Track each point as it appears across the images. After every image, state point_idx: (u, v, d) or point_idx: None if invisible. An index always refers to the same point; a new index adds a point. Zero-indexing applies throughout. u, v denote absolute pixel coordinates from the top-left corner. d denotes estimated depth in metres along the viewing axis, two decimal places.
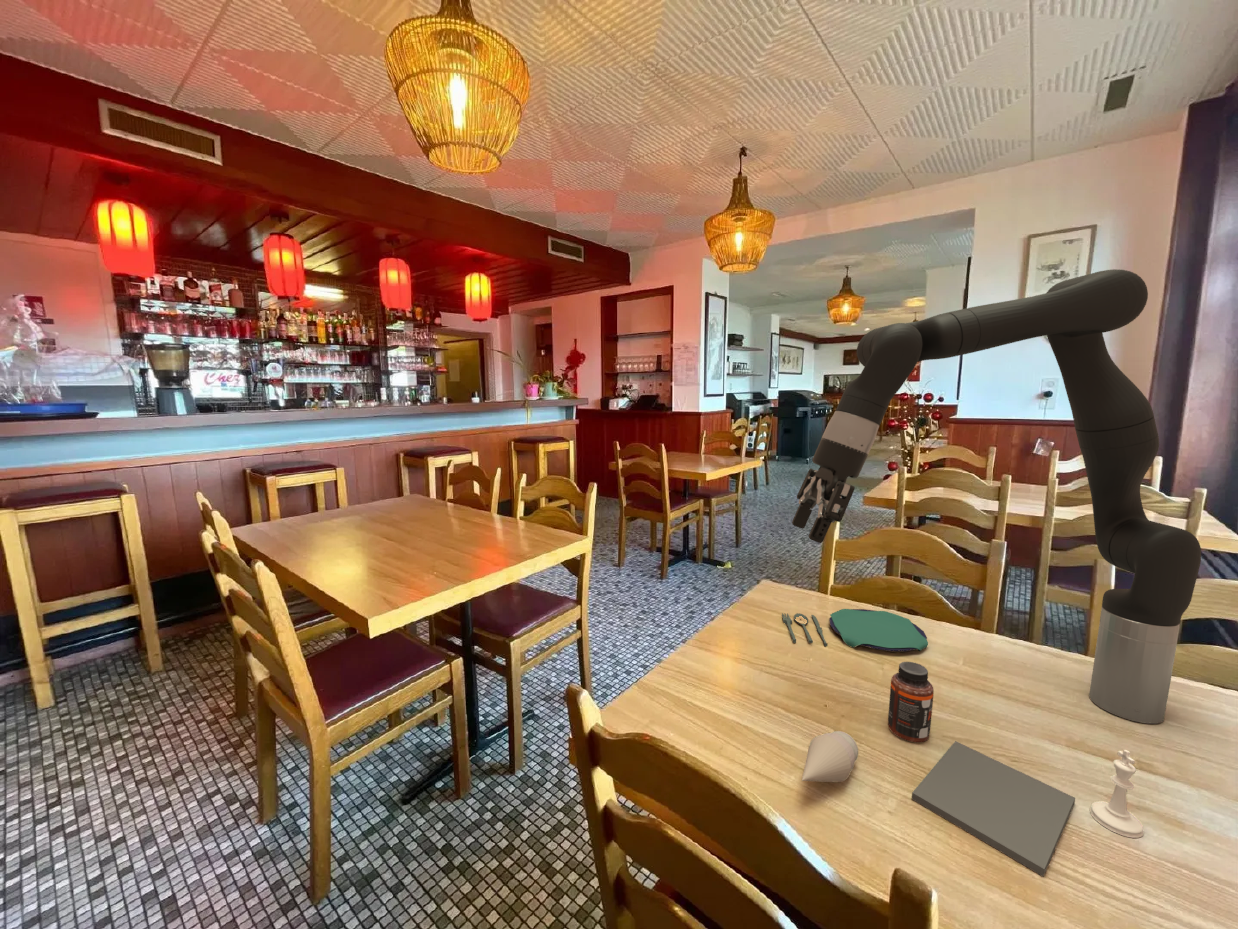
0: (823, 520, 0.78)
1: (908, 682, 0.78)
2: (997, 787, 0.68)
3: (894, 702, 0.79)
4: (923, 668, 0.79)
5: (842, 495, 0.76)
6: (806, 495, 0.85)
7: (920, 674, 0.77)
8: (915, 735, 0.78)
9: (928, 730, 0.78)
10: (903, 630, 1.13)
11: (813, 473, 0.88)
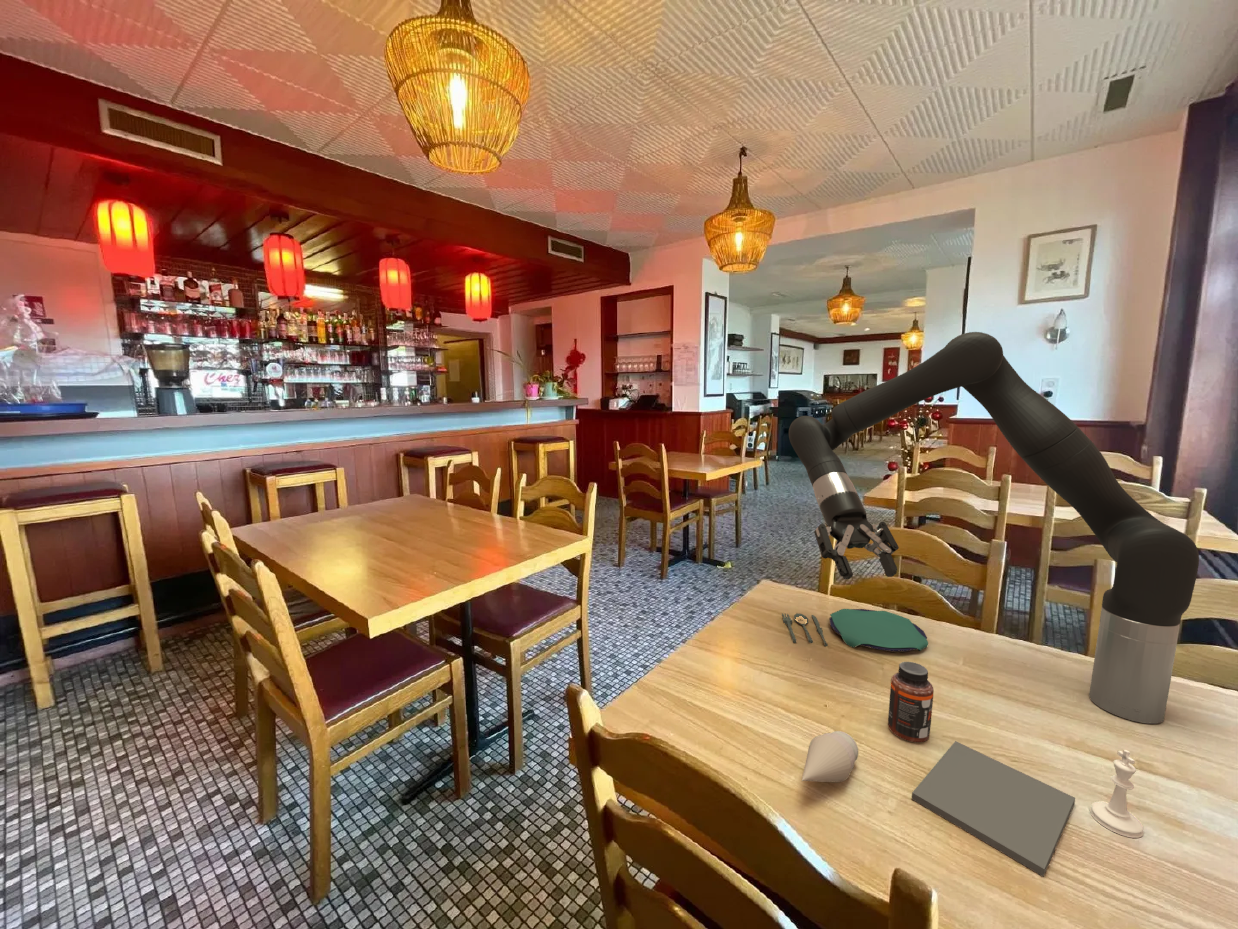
0: (834, 560, 0.91)
1: (908, 682, 0.78)
2: (997, 787, 0.68)
3: (894, 702, 0.79)
4: (923, 668, 0.79)
5: (819, 536, 0.93)
6: (868, 549, 0.94)
7: (920, 674, 0.77)
8: (915, 735, 0.78)
9: (928, 730, 0.78)
10: (903, 630, 1.13)
11: None
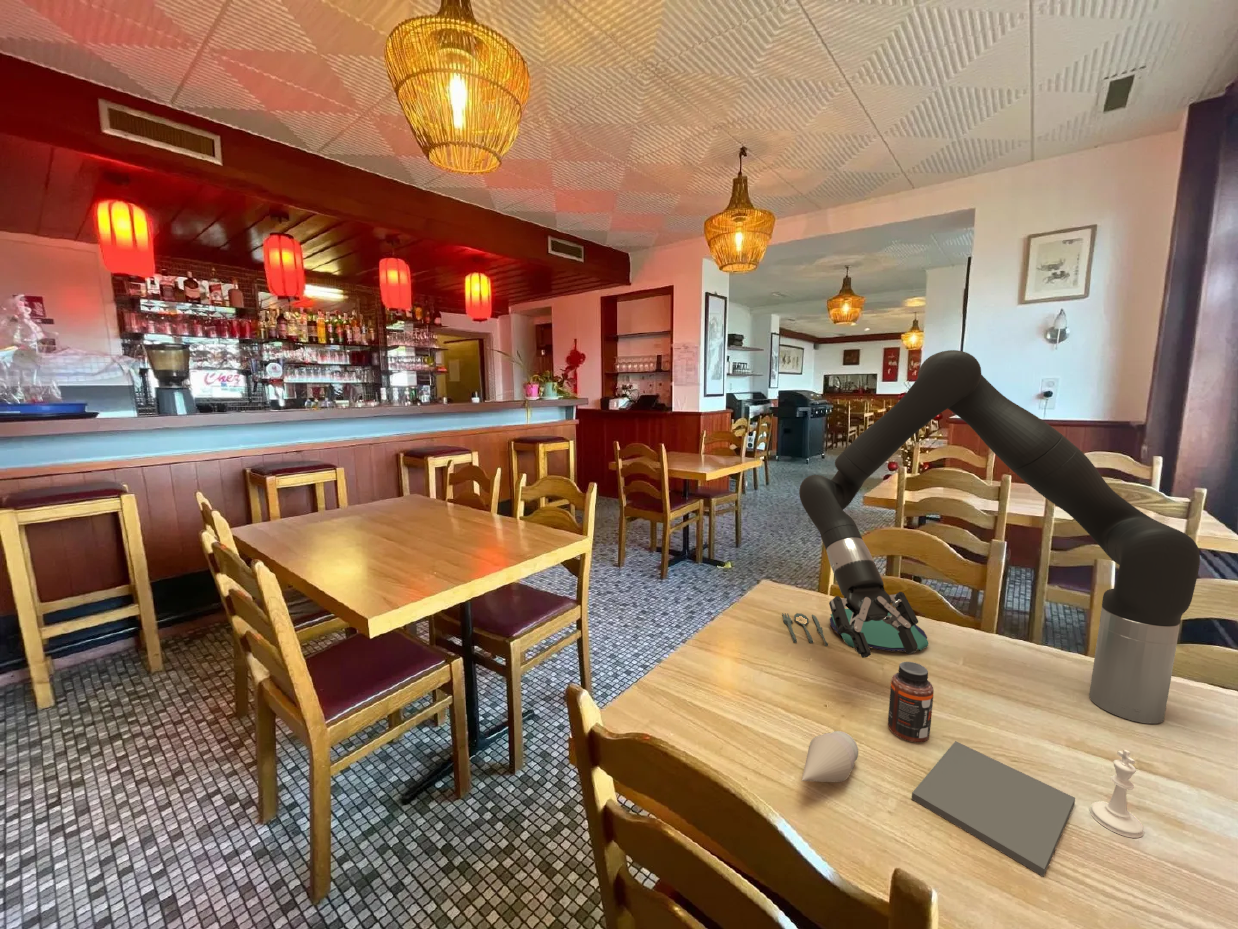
0: (851, 636, 0.86)
1: (908, 682, 0.78)
2: (997, 787, 0.68)
3: (894, 702, 0.79)
4: (923, 668, 0.79)
5: (834, 609, 0.89)
6: (886, 622, 0.90)
7: (920, 674, 0.77)
8: (915, 735, 0.78)
9: (928, 730, 0.78)
10: None
11: None
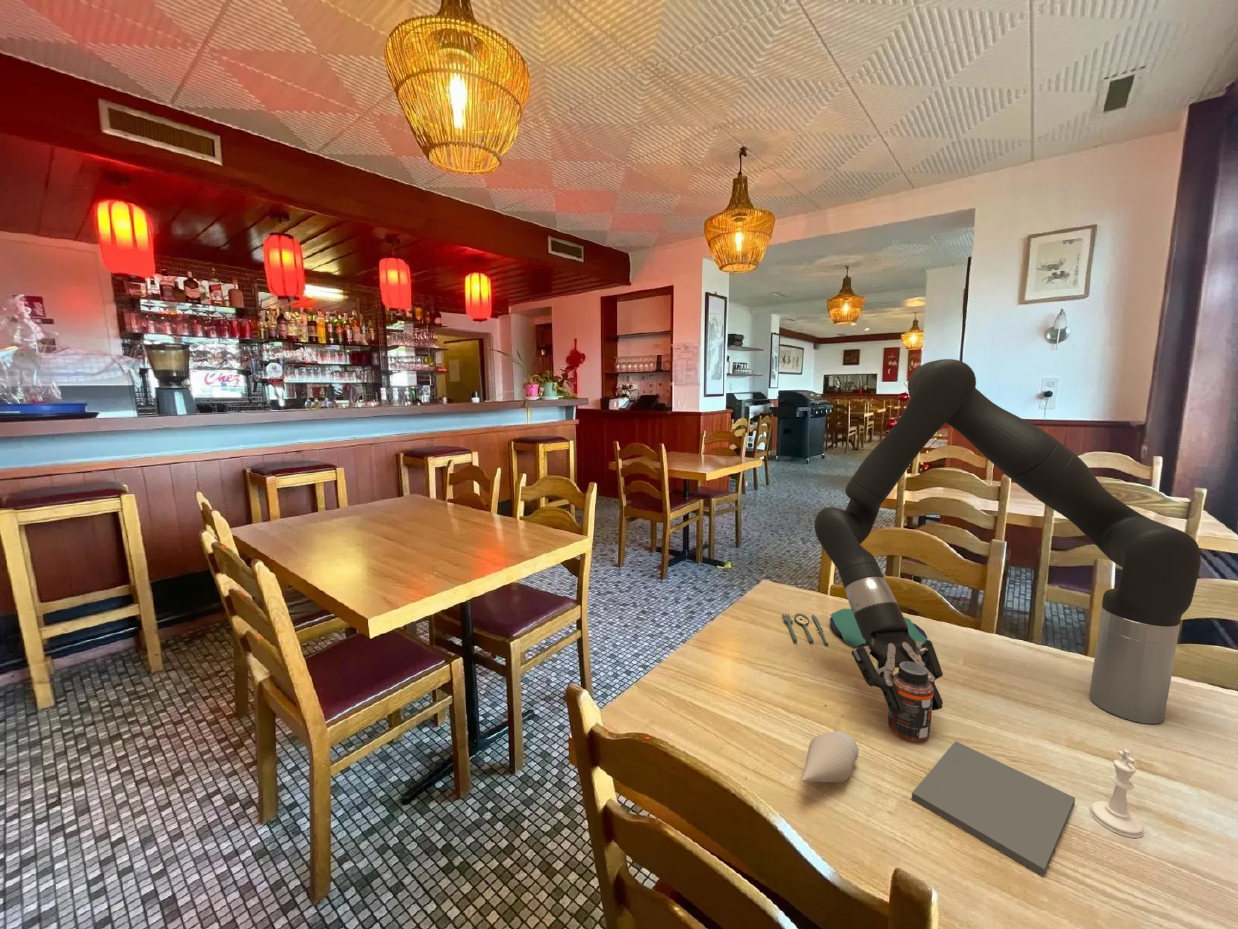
0: (881, 689, 0.80)
1: (907, 682, 0.78)
2: (997, 787, 0.68)
3: None
4: (923, 668, 0.79)
5: (859, 660, 0.82)
6: None
7: (920, 674, 0.77)
8: (915, 735, 0.78)
9: (928, 730, 0.78)
10: None
11: None
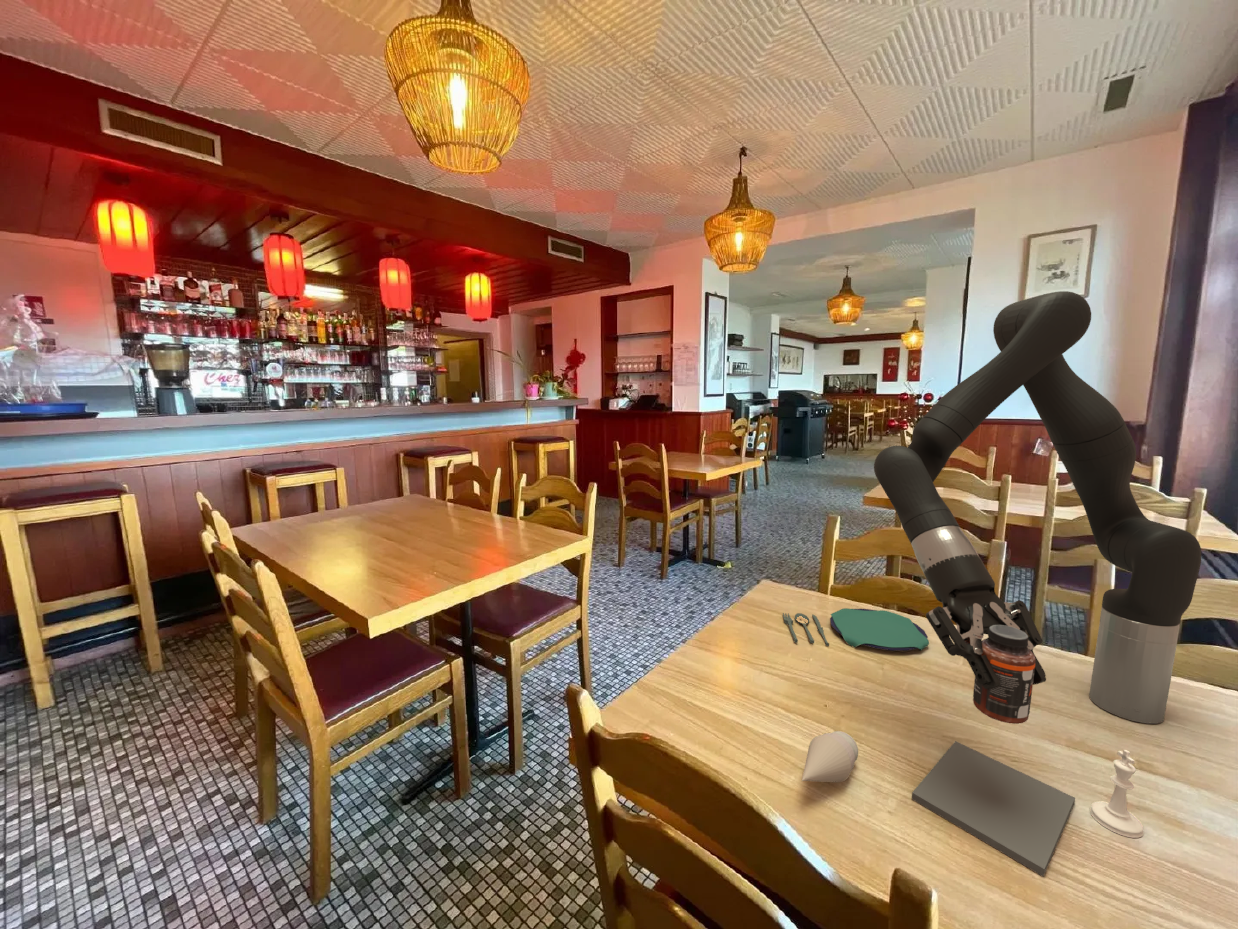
0: (967, 659, 0.65)
1: (1003, 649, 0.63)
2: (997, 787, 0.68)
3: None
4: (1021, 632, 0.63)
5: (937, 624, 0.67)
6: None
7: (1019, 639, 0.62)
8: (1013, 714, 0.62)
9: (1028, 708, 0.63)
10: (904, 629, 1.13)
11: None
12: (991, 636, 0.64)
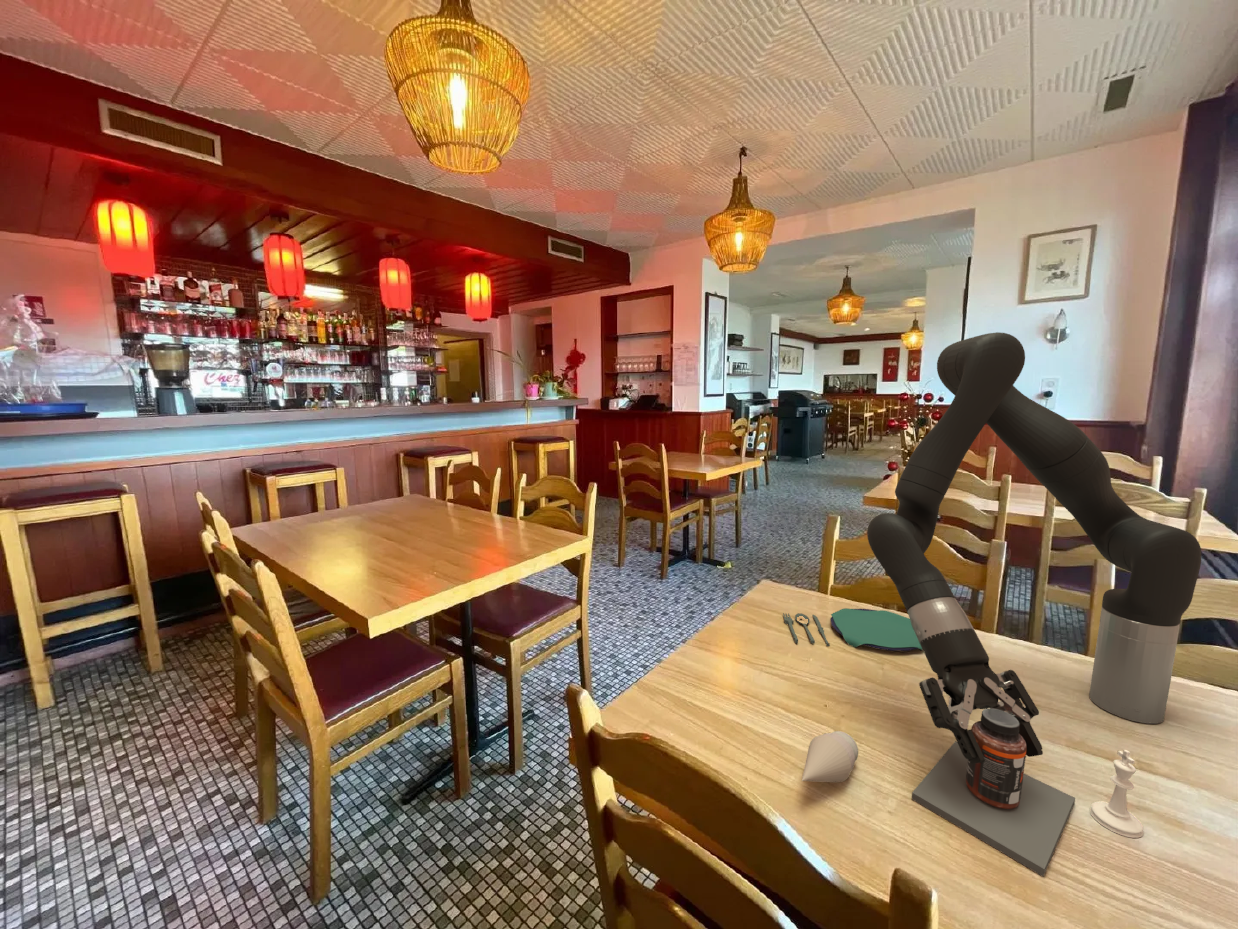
0: (953, 732, 0.66)
1: (995, 735, 0.64)
2: None
3: None
4: (1013, 718, 0.65)
5: (928, 694, 0.69)
6: None
7: (1011, 727, 0.64)
8: (1004, 800, 0.64)
9: (1019, 794, 0.64)
10: (904, 629, 1.13)
11: None
12: (983, 721, 0.66)
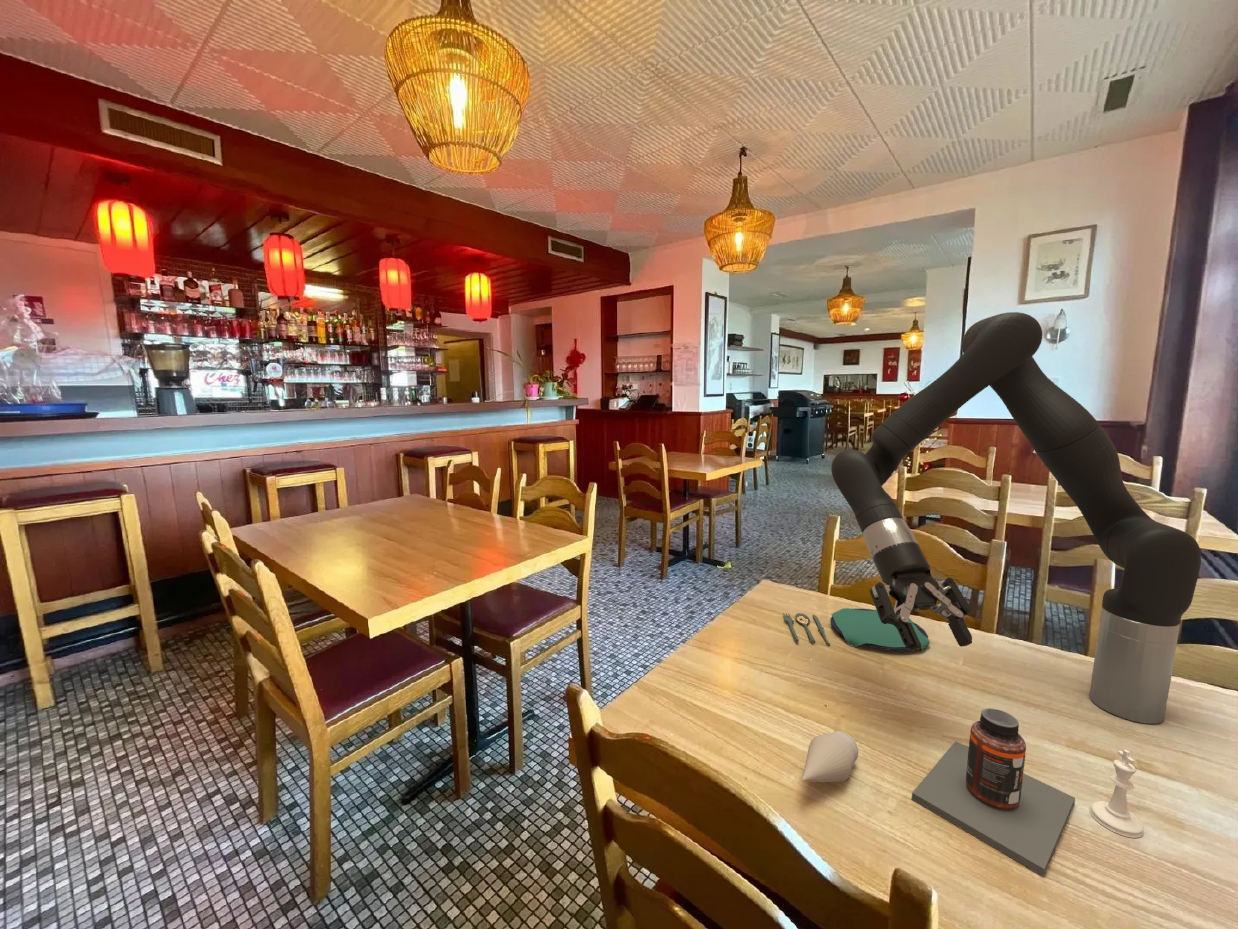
0: (896, 627, 0.77)
1: (994, 735, 0.64)
2: None
3: (976, 758, 0.66)
4: (1012, 718, 0.65)
5: (876, 596, 0.79)
6: (934, 611, 0.80)
7: (1010, 727, 0.64)
8: (1004, 800, 0.64)
9: (1019, 794, 0.64)
10: None
11: None
12: (983, 721, 0.66)
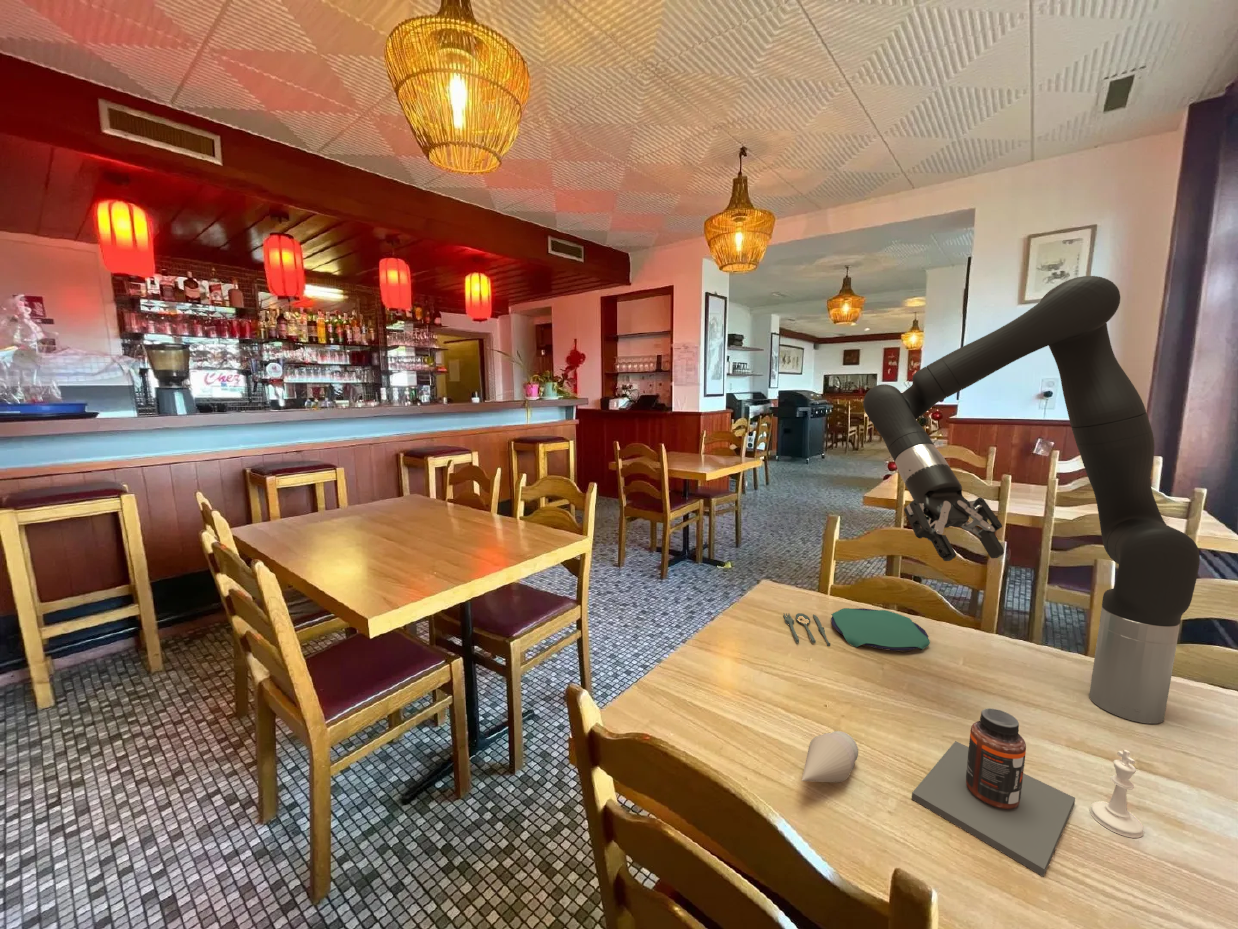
0: (931, 540, 0.81)
1: (994, 735, 0.64)
2: None
3: (976, 758, 0.66)
4: (1012, 718, 0.65)
5: (911, 514, 0.83)
6: (965, 528, 0.84)
7: (1010, 726, 0.64)
8: (1004, 800, 0.64)
9: (1019, 794, 0.64)
10: (904, 629, 1.13)
11: None
12: (983, 721, 0.66)
